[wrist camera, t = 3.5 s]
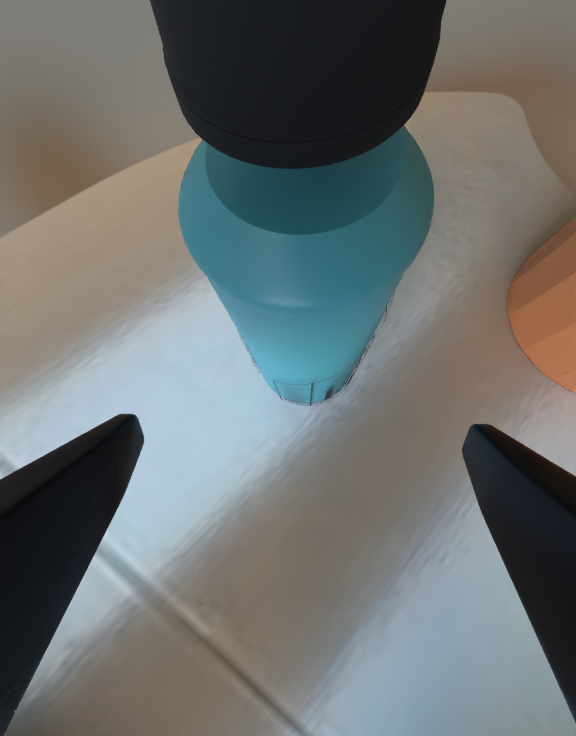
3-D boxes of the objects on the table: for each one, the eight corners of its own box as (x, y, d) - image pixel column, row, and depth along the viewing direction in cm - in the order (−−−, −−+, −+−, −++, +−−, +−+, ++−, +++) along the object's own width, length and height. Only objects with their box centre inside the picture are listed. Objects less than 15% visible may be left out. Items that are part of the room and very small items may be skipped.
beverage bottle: (323, 427, 21) (508, 183, 2) (243, 379, 22) (-159, -73, 3) (367, 349, 22) (755, -284, 3) (289, 308, 24) (216, -333, 4)
